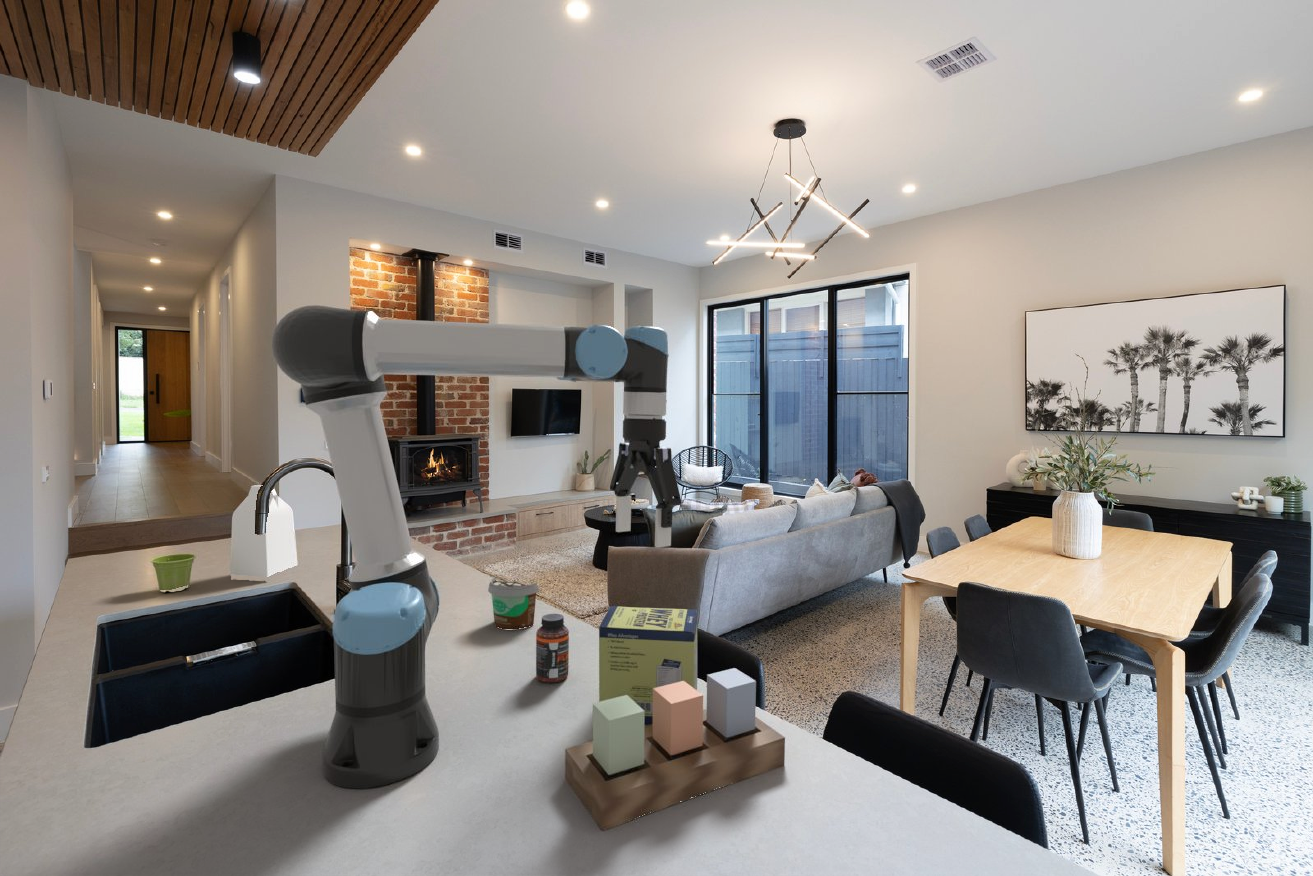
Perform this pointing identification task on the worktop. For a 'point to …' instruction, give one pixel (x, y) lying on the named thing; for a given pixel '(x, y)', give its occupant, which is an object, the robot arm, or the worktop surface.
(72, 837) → the worktop surface
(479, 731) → the worktop surface
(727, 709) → the slate upright cuboid
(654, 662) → the protein box
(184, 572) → the plant pot
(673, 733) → the peach rectangular prism
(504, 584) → the food container
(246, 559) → the milk
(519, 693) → the worktop surface
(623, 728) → the sage rectangular block
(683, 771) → the walnut board
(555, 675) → the supplement bottle
